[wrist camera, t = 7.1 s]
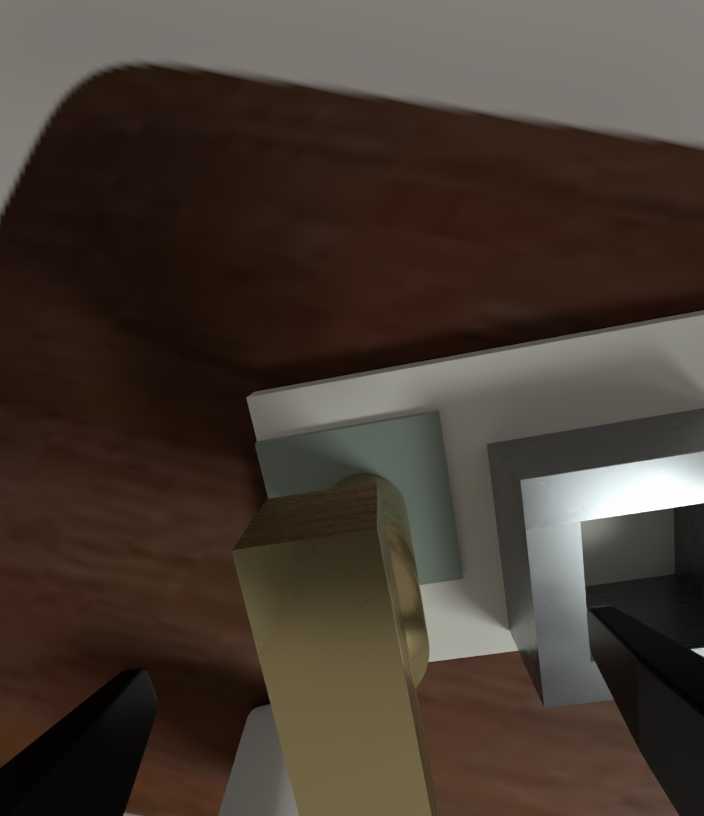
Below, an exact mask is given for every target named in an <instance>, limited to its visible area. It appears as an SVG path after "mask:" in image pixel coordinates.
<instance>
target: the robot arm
mask: <svg viewBox="0 0 704 816" xmlns="http://www.w3.org/2000/svg"><path fill="white" fill-rule="evenodd" d="M587 624H588V637H589V647H590V650H591V654H592V656H593V659H594V661H595V663H596V665H597V667H598V669H599V671H600V673H601V675H602V677H603V679H604V681H605V683H606V685H607V687H608V689H609V691H610V693H611V695H612V697H613V699H614V701H615V703H616V705H617V707H618V709H619V711H620V713H621V715H622V717H623V719H624V720H625V722H626V724H627V726H628V728H629V730H630V732H631V734H632V736H633V738H634V740H635V742H636V744H637V746H638V748H639V750H640V752H641V753H642V755H643V757H644V758H645V760H646V762H647V764H648V765H649V767H650V769H651V770H652V772H653V774H654V775H655V777H656V778H657V780H658V782H659V783H660V785H661V787H662V788H663V790H664V791H665V793H666V795H667V796H668V798H669V800H670V801H671V803H672V804H673V806H674V808H675V809H676V811H677V813H678V814H679V816H704V657H703V656H701V655H700V654H698V653H696V652H694V651H692V650H691V649H689V648H687V647H685V646H683V645H682V644H680V643H678V642H676V641H675V640H673V639H671V638H669V637H667V636H666V635H664V634H662V633H660V632H658V631H657V630H655V629H653V628H651V627H650V626H648V625H646V624H644V623H642V622H641V621H639V620H637V619H635V618H633V617H632V616H630V615H628V614H626V613H625V612H623V611H621V610H619V609H617V608H616V607H614V606H611V605H604V606H597V607H591V608H589V609H588V611H587ZM157 707H158V702H157V697H156V694H155V691H154V688H153V685H152V683H151V680H150V677H149V674H148V672H147V670H146V669H145V668H141V667H140V668H133V669H126V670H123V671H122V672H120V673H119V674H118V675H116V676H115V677H114V678H113V679H111V680H110V681H109V682H108V683H106V684H105V685H104V686H103V687H101V688H100V689H99V690H98V691H96V692H95V693H94V694H93V695H91V696H90V697H89V698H88V699H86V700H85V701H84V702H83V703H81V704H80V705H79V706H78V707H76V708H75V709H74V710H73V711H71V712H70V713H69V714H68V715H66V716H65V717H64V718H63V719H61V720H60V721H59V722H58V723H56V724H55V725H54V726H53V727H51V728H50V729H49V730H48V731H46V732H45V733H44V734H43V735H41V736H40V737H39V738H38V739H36V740H35V741H34V742H33V743H31V744H30V745H29V746H28V747H26V748H25V749H24V750H23V751H21V752H20V753H19V754H18V755H16V756H15V757H14V758H12V759H11V760H10V761H9V762H7V763H6V764H5V765H4V766H2V767H1V768H0V816H123V814H124V812H125V809H126V807H127V804H128V801H129V798H130V795H131V792H132V789H133V786H134V783H135V780H136V777H137V773H138V770H139V767H140V764H141V761H142V758H143V755H144V751H145V748H146V745H147V742H148V739H149V736H150V732H151V729H152V726H153V723H154V720H155V717H156V713H157Z"/></svg>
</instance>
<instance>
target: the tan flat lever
mask: <svg viewBox="0 0 704 816" xmlns="http://www.w3.org/2000/svg"><path fill="white" fill-rule="evenodd" d="M232 554H233V558H234V562H235V566H236V570H237V574H238V578H239V581H240V585H241V589H242V593H243V597H244V601H245V605H246V609H247V613H248V617H249V621H250V625H251V629H252V633H253V637H254V641H255V644H256V648H257V652H258V656H259V660H260V664H261V668H262V672H263V676H264V680H265V684H266V688H267V692H268V696H269V700H270V704H271V707H272V711H273V715H274V719H275V723H276V727H277V731H278V735H279V739H280V743H281V747H282V751H283V755H284V759H285V763H286V767H287V771H288V774H289V778H290V782H291V786H292V790H293V794H294V798H295V802H296V806H297V810H298V814H299V816H438V814H437V806H436V798H435V790H434V783H433V778H432V772H431V767H430V761H429V756H428V751H427V745H426V740H425V735H424V729H423V724H422V719H421V713H420V708H419V703H418V697H417V692H416V687H417V686H418V684H419V683H420V681H421V680H422V678H423V676H424V674H425V671H426V669H427V666H428V661H429V650H430V648H429V639H428V633H427V627H426V621H425V615H424V609H423V603H422V597H421V591H420V585H419V579H418V573H417V567H416V561H415V555H414V549H413V543H412V537H411V531H410V525H409V519H408V513H407V507H406V503H405V500H404V498H403V496H402V494H401V493H400V491H399V490H398V489H397V488H396V487H395V486H394V485H393V484H392V483H391V482H390V481H388V480H386V479H385V478H382V477H380V476H377V475H373V474H355V475H351V476H348V477H346V478H344V479H342V480H340V481H339V482H338V483H336V484H335V485H334V486H333V487H332V489H326V490H320V491H313V492H307V493H301V494H294V495H288V496H282V497H275V498H269V499H266V501H265V502H264V504H263V505H262V507H261V508H260V510H259V511H258V513H257V514H256V516H255V517H254V518H253V520H252V521H251V523H250V524H249V526H248V527H247V529H246V530H245V532H244V533H243V535H242V536H241V538H240V539H239V541H238V542H237V543H236V545H235V546H234V548H233V549H232Z"/></svg>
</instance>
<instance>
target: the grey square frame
mask: <svg viewBox="0 0 704 816" xmlns="http://www.w3.org/2000/svg"><path fill="white" fill-rule="evenodd" d="M487 450H488V459H489V467H490V475H491V483H492V491H493V500H494V508H495V516H496V524H497V533H498V541H499V549H500V557H501V566H502V574H503V582H504V590H505V599H506V607H507V615H508V623H509V631H510V633H511V635H512V637H513V640H514V642H515V644H516V646H517V649H518V651H519V653H520V655H521V657H522V660H523V662H524V664H525V666H526V668H527V671H528V673H529V675H530V677H531V679H532V682H533V684H534V686H535V688H536V690H537V693H538V695H539V697H540V699H541V702H542V704H543V706H544V708H547V707H555V706H564V705H572V704H581V703H589V702H597V701H606V700H614V699H613V697H612V695H611V693H610V691H609V689H608V687H607V685H606V683H605V681H604V679H603V677H602V675H601V673H600V671H599V669H598V667H597V665H596V663H595V661H594V659H593V656H592V654H591V650H590V647H589V637H588V624H587V611H588V609H589V608H591V607H597V606H604V605H611V606H614V607H616V608H617V609H619V610H621V611H623V612H625V613H626V614H628V615H630V616H632V617H633V618H635V619H637V620H639V621H641V622H642V623H644V624H646V625H648V626H650V627H651V628H653V629H655V630H657V631H658V632H660V633H662V634H664V635H666V636H667V637H669V638H671V639H673V640H675V641H676V642H678V643H680V644H682V645H683V646H685V647H687V648H689V649H691V650H692V651H694V652H696V653H698V654H700V655H701V656H703V657H704V408H701V409H695V410H689V411H683V412H677V413H671V414H665V415H659V416H653V417H647V418H641V419H635V420H628V421H622V422H616V423H610V424H604V425H598V426H592V427H586V428H580V429H574V430H568V431H562V432H556V433H550V434H544V435H538V436H532V437H525V438H519V439H513V440H507V441H501V442H495V443H489V444H487ZM667 508H674V551H675V574H672V575H664V576H657V577H650V578H643V579H635V580H628V581H621V582H613V583H606V584H599V585H592V586H585V578H584V565H583V551H582V537H581V524H580V521H587V520H593V519H600V518H607V517H613V516H620V515H627V514H634V513H640V512H647V511H654V510H660V509H667Z"/></svg>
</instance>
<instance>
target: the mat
mask: <svg viewBox="0 0 704 816" xmlns="http://www.w3.org/2000/svg"><path fill="white" fill-rule="evenodd" d="M255 447H256V451H257V455H258V459H259V463H260V467H261V471H262V475H263V479H264V483H265V487H266V491H267V495H268V499H269V498H275V497H282V496H288V495H294V494H301V493H307V492H313V491H320V490H326V489H332V487H333V486H334V485H335V484H336V483H338V482H339V481H340V480H342V479H344V478H346V477H348V476H351V475H355V474H373V475H377V476H380V477H382V478H385V479H386V480H388V481H390V482H391V483H392V484H393V485H394V486H395V487H396V488H397V489H398V490H399V491H400V493H401V494H402V496H403V498H404V500H405V503H406V507H407V513H408V519H409V525H410V531H411V537H412V543H413V549H414V555H415V561H416V567H417V573H418V579H419V585H424V584H431V583H438V582H445V581H452V580H459V579H464V578H463V571H462V565H461V558H460V551H459V544H458V537H457V530H456V523H455V516H454V509H453V502H452V496H451V489H450V482H449V475H448V468H447V461H446V454H445V447H444V440H443V433H442V427H441V420H440V413H439V411H438V410H435V411H430V412H424V413H418V414H412V415H406V416H401V417H395V418H389V419H383V420H377V421H372V422H366V423H360V424H354V425H348V426H343V427H337V428H331V429H325V430H319V431H314V432H308V433H302V434H296V435H290V436H285V437H279V438H273V439H267V440H261V441H257V442H256V443H255Z"/></svg>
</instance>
